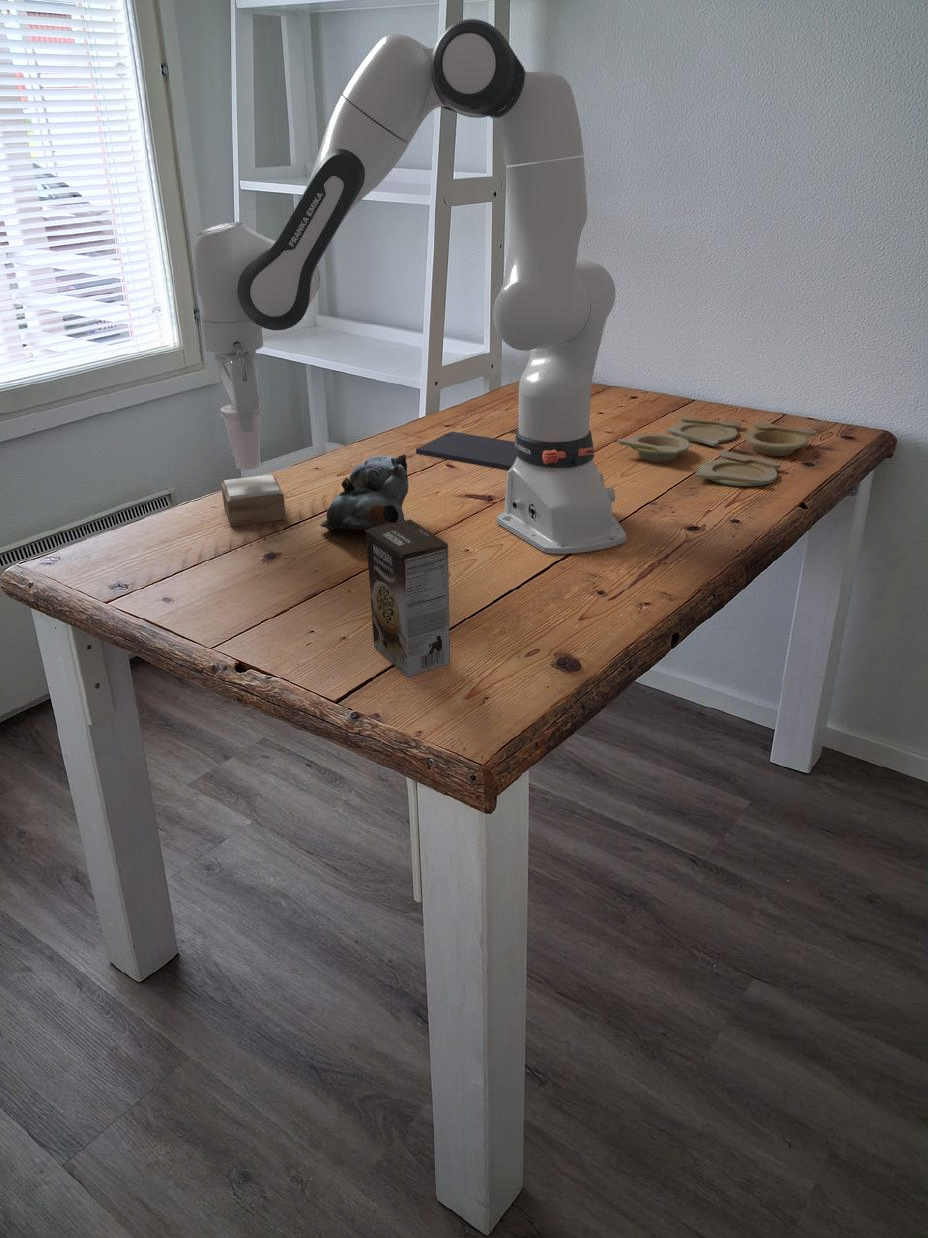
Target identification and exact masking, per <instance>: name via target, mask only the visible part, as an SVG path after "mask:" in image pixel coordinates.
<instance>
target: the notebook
mask: <svg viewBox="0 0 928 1238" xmlns="http://www.w3.org/2000/svg"><path fill="white" fill-rule="evenodd" d="M415 454H416V455H421V456H427V457H431V458H438V459H443V460H448V461H454V462H459V463H464V464H471V465H475V466H482V467H485V468H491V469H498V470H504V471H507V472H508V471H509V470H510V468H511V467H512V466H513V464H514V462H515V460H516V458H517V455H516V453H515V441H511V440H506V439H499V438H494V437H488V436H487V437H486V436H481V435H474V434H469V433H464V432H463V433H462V432H457V431H449V432H446V433H444V434H443V435H440V436H439V437H437V438H435V439H433V440H431V441H429V442H426V443H425V444H423V445H420V446H419V447H417V448H415Z"/></svg>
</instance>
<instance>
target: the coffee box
mask: <svg viewBox="0 0 928 1238" xmlns="http://www.w3.org/2000/svg"><path fill="white" fill-rule="evenodd" d="M364 531H365V537H366V538H365V539H366V551H367V552H366V554H367V567H368V570H367V571H368V579H369V594H370V595H369V598H370V610H371V620H372V621H371V622H372V637H373V647H374V648H375V649H376V651H378V652H379V653H380V654H381V655H382V656H384V657H385V658H386V659H387V660H388V661H389V662H390V663H391V664H393V665H394V666H395V667H396V668H397V669H398V670H399V671H400V672H402V674H404V675H405V676H406V677H409V678H410V677H412V676H416V675H419V674H422V673H425V672H427V671H428V672H429V671H431V670H434V669H437V668H441V667H444V666H446V665H450V664H451V653H450V652H451V648H450V647H451V646H450V645H451V643H450V641H451V640H450V638H451V637H450V633H451V632H450V631H451V630H450V589H449V588H450V586H449V585H450V581H449V578H450V577H449V576H450V575H449V573H450V571H449V570H450V569H449V543H447V542H446V541H445V540H443V539H441V538H440V537H439V536H436V535H435V534H433V533H432V532H430V531H429V530H428V529H426V528H424V527H423V526H421V525H420V524H418V523H417V522H415V521H413V519H407V520H406V519H405V521H402V522H399V523H391V524H385V525H382V526H378V527H374V528H370V529H367V530H364Z"/></svg>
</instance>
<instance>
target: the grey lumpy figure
mask: <svg viewBox="0 0 928 1238" xmlns="http://www.w3.org/2000/svg"><path fill="white" fill-rule="evenodd" d="M407 474H408V464H407V455H406V454H401V455H398V456H397V458H396V457H395V458H394V457H391V456H389V455H376V456H372V457H368V458H367V459H366V460H365V461H363V462H361V463H359V464H358V465H356V466H355V468H354V469H353V470H352V471H351V473H350V475H349V478H348V477H344V479H343V481H342V482H341V486H342V488H343V490H344V491H342V492H340V493H339V494H338V497H336V498H334V499H333V500H332V502H331V504H330V505H329V507H328V509H327V511H326V514H325V515H326V520H324V521H323V522H322V523H321V524H319V526H320V527H322V528H325V529H326V530H328V531H331V530H335V529H336V530H337V529H339V530H341V529H342V530H361V531H362V530H364V531H365V530H367V529H370V528H374V527H378V526H382V525H385V524H391V523H399V522H402V521H406V519H405V516H404V515H405V514H404V511H403V504H404V500H405V499H406V497H407V495H408V492H409V488H410V487H409V478H408V475H407Z"/></svg>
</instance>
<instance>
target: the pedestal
mask: <svg viewBox="0 0 928 1238" xmlns="http://www.w3.org/2000/svg"><path fill="white" fill-rule="evenodd" d="M220 486H221V493H222V499H223V500H222V501H223V507H224V512H225V514H226V517H227V519H228V523H229V526H230V527H231V528H232V527H240V526H247V525H254V524H261V523H268V522H276V521H284V520H285V521H286V520H287V515H286V514H287V513H286V504H285V495H284V492H283V490H282V488H281V487H280V484H279V482H278V480H277V478H276V476H273V474H264V475H256V476H250V477H240V478H232V479H224V480H223V482H220Z"/></svg>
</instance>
